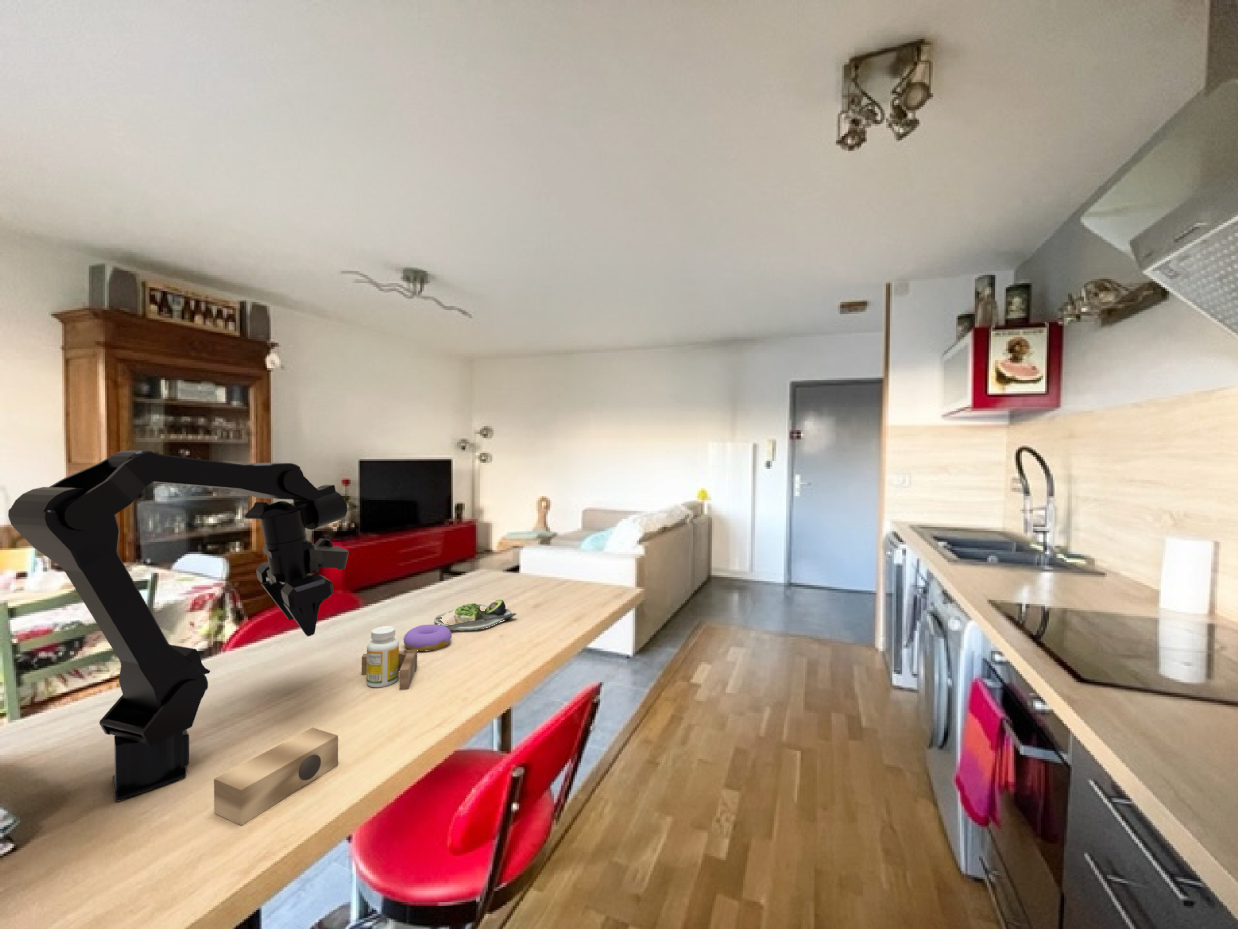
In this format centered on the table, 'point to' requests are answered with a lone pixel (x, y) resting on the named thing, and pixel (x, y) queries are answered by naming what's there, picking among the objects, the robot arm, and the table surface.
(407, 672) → the v block
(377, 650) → the supplement bottle
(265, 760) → the beam
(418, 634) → the donut
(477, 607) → the salad plate
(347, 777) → the table surface
